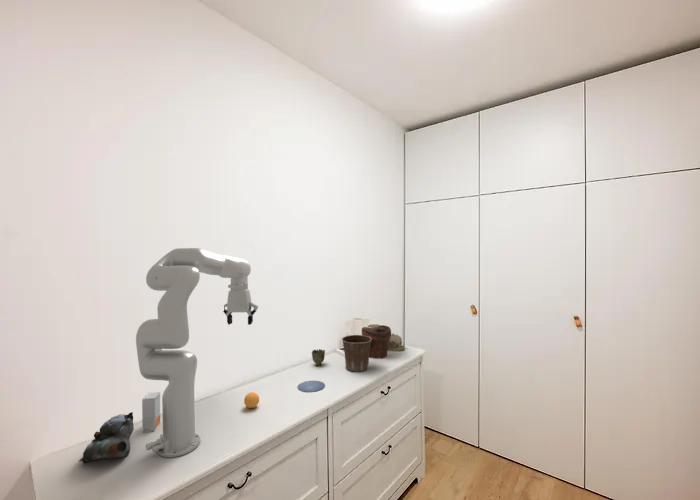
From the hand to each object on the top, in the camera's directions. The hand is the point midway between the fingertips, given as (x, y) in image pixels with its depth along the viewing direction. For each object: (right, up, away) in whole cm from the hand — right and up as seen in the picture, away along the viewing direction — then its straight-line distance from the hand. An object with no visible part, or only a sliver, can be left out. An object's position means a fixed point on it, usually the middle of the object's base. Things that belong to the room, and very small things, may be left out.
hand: (240, 324), depth 155 cm
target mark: (+33, -30, +3) cm, 45 cm away
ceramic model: (+79, -30, +60) cm, 104 cm away
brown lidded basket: (+68, -30, +48) cm, 88 cm away
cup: (+33, -30, +32) cm, 55 cm away
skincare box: (-22, -31, -32) cm, 50 cm away
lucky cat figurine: (-26, -32, -49) cm, 63 cm away
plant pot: (+55, -30, +26) cm, 68 cm away
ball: (+11, -28, -17) cm, 34 cm away
